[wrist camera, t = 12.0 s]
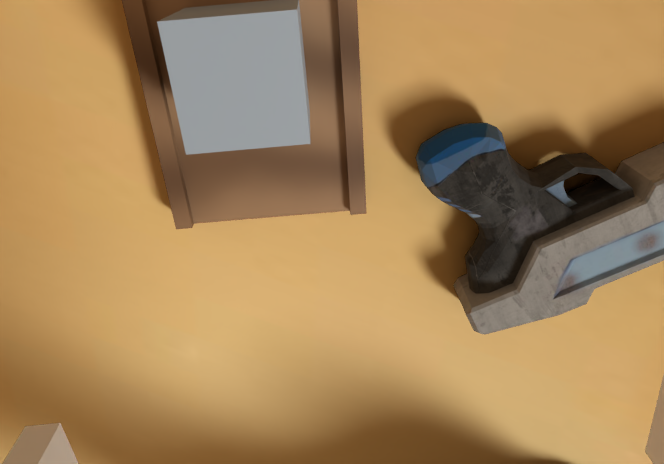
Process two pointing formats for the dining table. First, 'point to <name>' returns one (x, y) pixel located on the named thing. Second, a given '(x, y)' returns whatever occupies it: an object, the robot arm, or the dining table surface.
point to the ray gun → (543, 224)
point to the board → (273, 162)
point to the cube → (238, 75)
